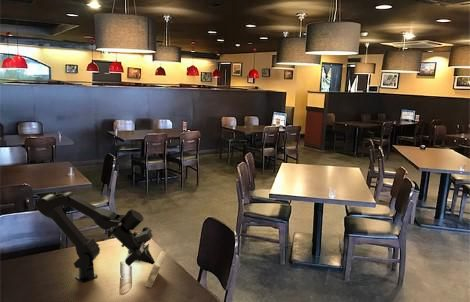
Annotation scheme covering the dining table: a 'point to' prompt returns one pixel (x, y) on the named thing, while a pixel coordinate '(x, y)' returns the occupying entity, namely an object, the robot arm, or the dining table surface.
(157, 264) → the brown tile
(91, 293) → the dining table surface
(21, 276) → the dining table surface
